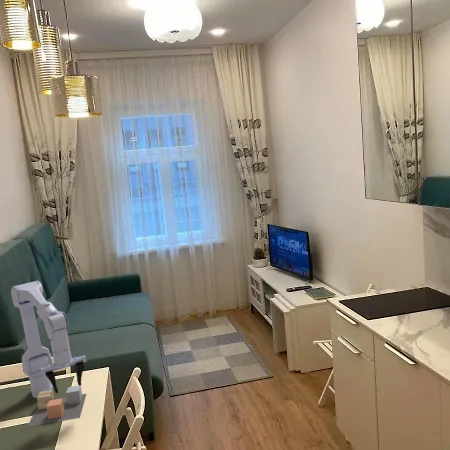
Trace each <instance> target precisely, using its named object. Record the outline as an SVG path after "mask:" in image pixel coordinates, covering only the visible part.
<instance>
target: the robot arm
mask: <svg viewBox="0 0 450 450" xmlns="http://www.w3.org/2000/svg"><path fill="white" fill-rule="evenodd" d="M43 289H44V288H43V285H42V283H41V282H40V281H39V280H35V281H31V282H26V283H23V284H19V285H13V286H12V288H11V289H10V294H11V299H12V304H13V306H14V308H18V309H19V311H20V316H21V317H20V318H21V322H22V327H23V332H24V335H25V341H26V345H27V350H26V351H25V352H24V353H23V354H22V356H21V362H22V363H21V367H22V370H23V373H24V375H26V376H27V377H28V378H29V383H30V389H31V394H32V395H31V397H33V398H34V399H35V398H36V399H37V397H38V395H39V393H40V392H43V391H49V390H53V391H54V392H55V394H59V391H58V386H57V382H56V375H55V371H60V370H63V369H65V368H68V367H72V366H73V367H74V369H75V373H76V382H77V386H80V385H81V386H82V377H83V372H84V369H85V364H84V363H86V362H87V358H86V355H80V356H75V357H72V352H71V347H70V341H69V340H70V339H69V335H68V330H67V329H69V319H68V317H67V314H66V313H65V312H64V311H59V310H57V308H56V307H55V306H54V304H53V303H52V302H50V301H47V300H46V299H45V297H44V295H43V293H44V290H43ZM34 307H36V313H37V315H38V316H39V318H40V319H41V320H42V322H43V326H44V329H45V331H46V334H47V339H49V341H50V347H51V353H50V349H49V348H47V347H45V346H43V345H42V343H41V339H40V338H41V337H40V333H39V328H38V323H37V318H36V314H35V308H34Z"/></svg>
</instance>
